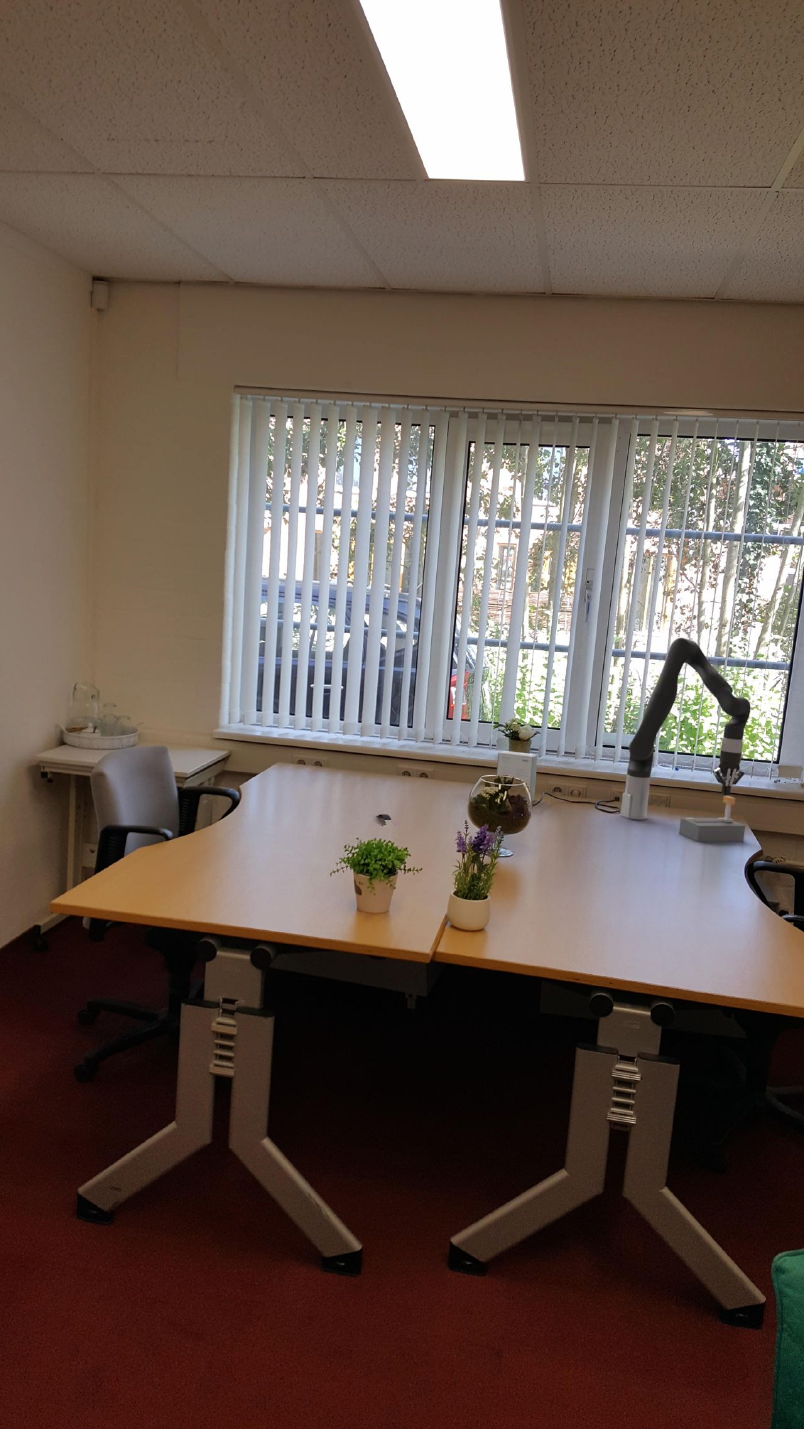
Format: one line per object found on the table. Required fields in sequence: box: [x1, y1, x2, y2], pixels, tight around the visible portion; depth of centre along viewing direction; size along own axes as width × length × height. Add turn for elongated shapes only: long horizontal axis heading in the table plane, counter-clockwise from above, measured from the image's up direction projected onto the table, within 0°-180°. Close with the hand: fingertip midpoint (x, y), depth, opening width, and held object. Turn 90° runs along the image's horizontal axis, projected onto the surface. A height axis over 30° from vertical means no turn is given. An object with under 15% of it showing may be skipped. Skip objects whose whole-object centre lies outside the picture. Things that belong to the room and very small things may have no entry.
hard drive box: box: [496, 750, 538, 802], centre depth 407 cm, size 16×8×20 cm, turn 65°
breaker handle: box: [720, 795, 736, 822], centre depth 366 cm, size 3×4×9 cm
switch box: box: [678, 817, 746, 843], centre depth 365 cm, size 20×12×6 cm, turn 106°
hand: (725, 795), depth 365 cm, fingers closed
